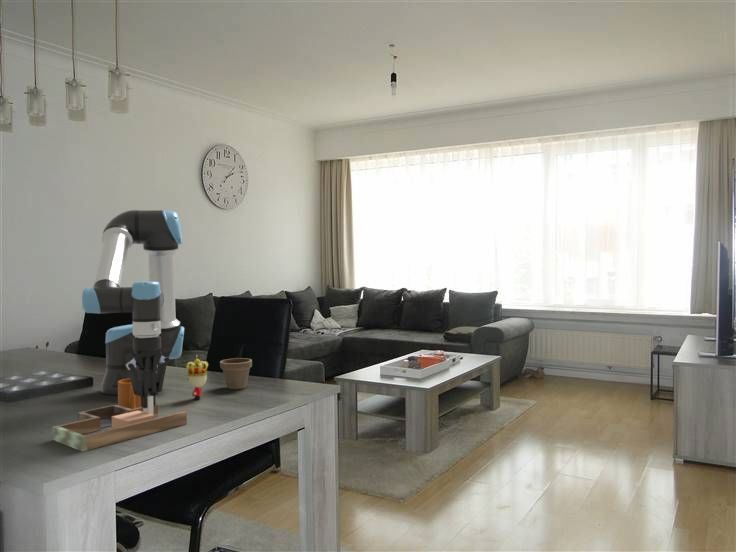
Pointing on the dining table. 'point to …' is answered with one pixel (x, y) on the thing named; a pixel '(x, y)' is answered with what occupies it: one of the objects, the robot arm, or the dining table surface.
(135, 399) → the mug
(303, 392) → the dining table surface
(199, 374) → the toy
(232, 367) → the flower pot
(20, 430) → the dining table surface
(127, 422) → the block
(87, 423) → the wooden tray frame
